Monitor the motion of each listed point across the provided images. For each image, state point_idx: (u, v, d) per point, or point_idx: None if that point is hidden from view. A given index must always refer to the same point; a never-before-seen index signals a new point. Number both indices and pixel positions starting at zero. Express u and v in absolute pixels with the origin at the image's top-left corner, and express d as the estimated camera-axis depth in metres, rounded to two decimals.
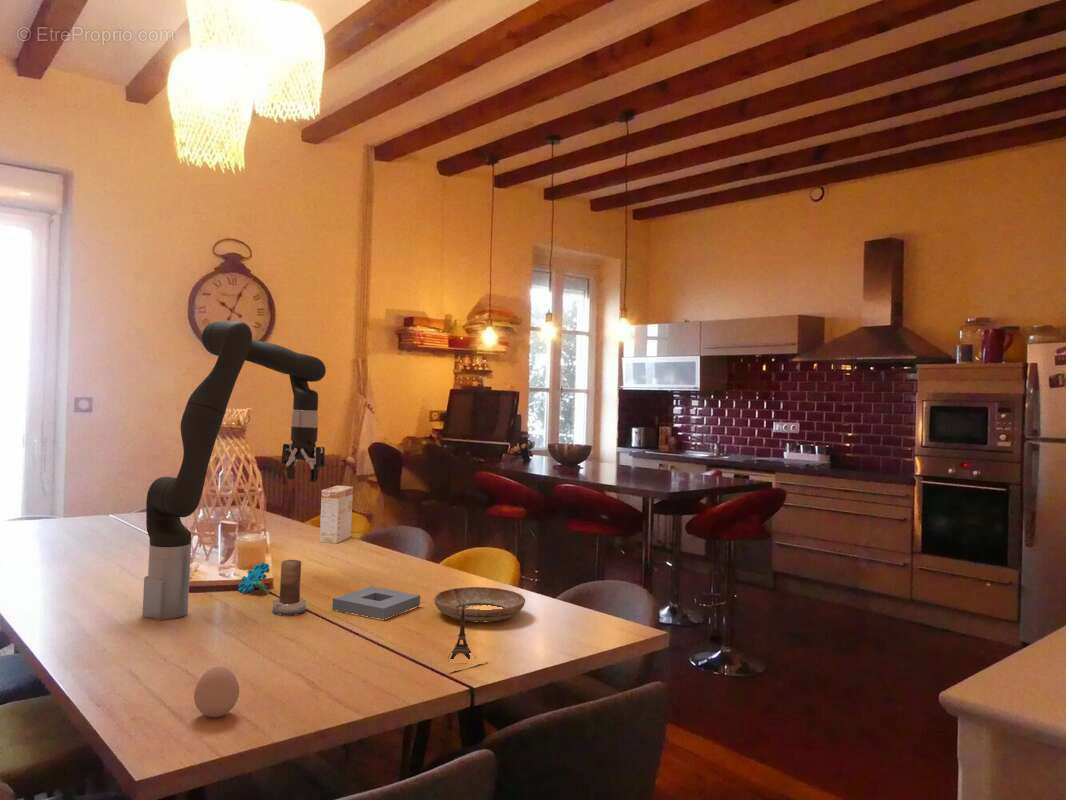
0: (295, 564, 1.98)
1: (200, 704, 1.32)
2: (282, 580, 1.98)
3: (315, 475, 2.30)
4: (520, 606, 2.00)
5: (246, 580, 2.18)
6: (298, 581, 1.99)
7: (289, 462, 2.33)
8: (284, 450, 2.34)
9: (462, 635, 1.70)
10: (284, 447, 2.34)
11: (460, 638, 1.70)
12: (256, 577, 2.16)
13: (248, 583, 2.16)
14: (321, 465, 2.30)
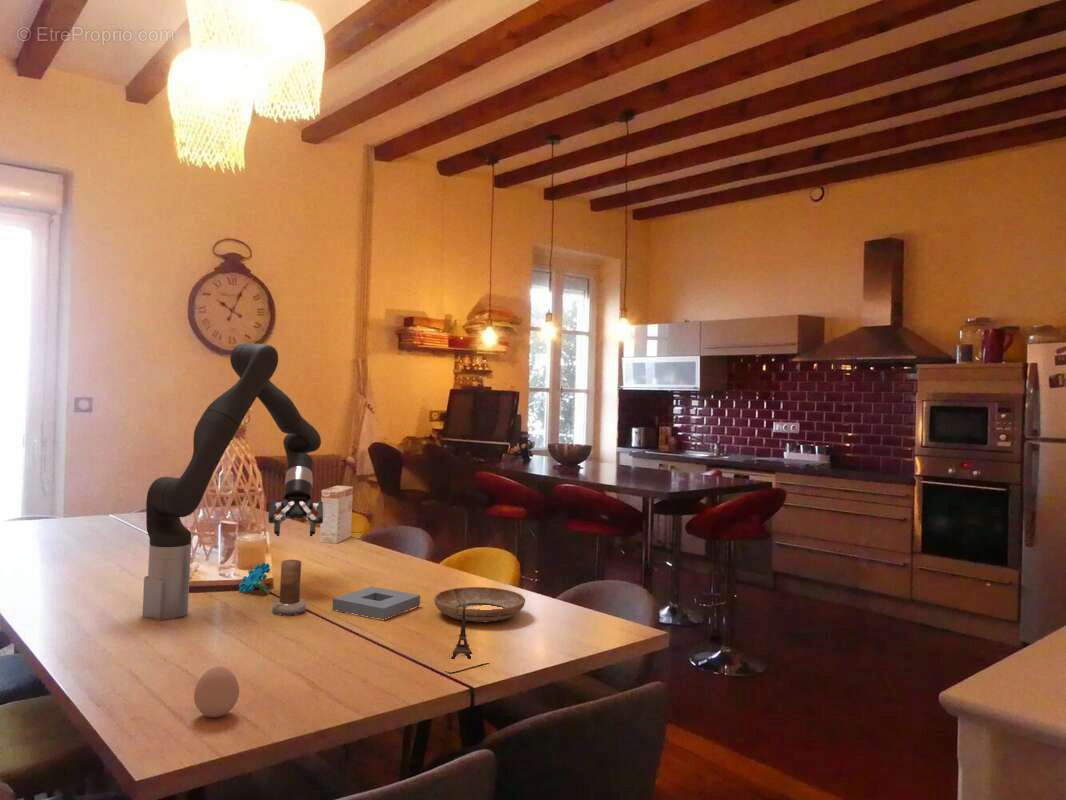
0: (295, 564, 1.98)
1: (200, 704, 1.32)
2: (282, 580, 1.98)
3: (315, 527, 2.14)
4: (520, 606, 2.00)
5: (247, 580, 2.18)
6: (298, 581, 1.99)
7: (280, 516, 2.13)
8: (273, 506, 2.15)
9: (463, 635, 1.70)
10: (273, 503, 2.16)
11: (461, 638, 1.69)
12: (256, 577, 2.16)
13: (248, 583, 2.16)
14: (322, 519, 2.17)
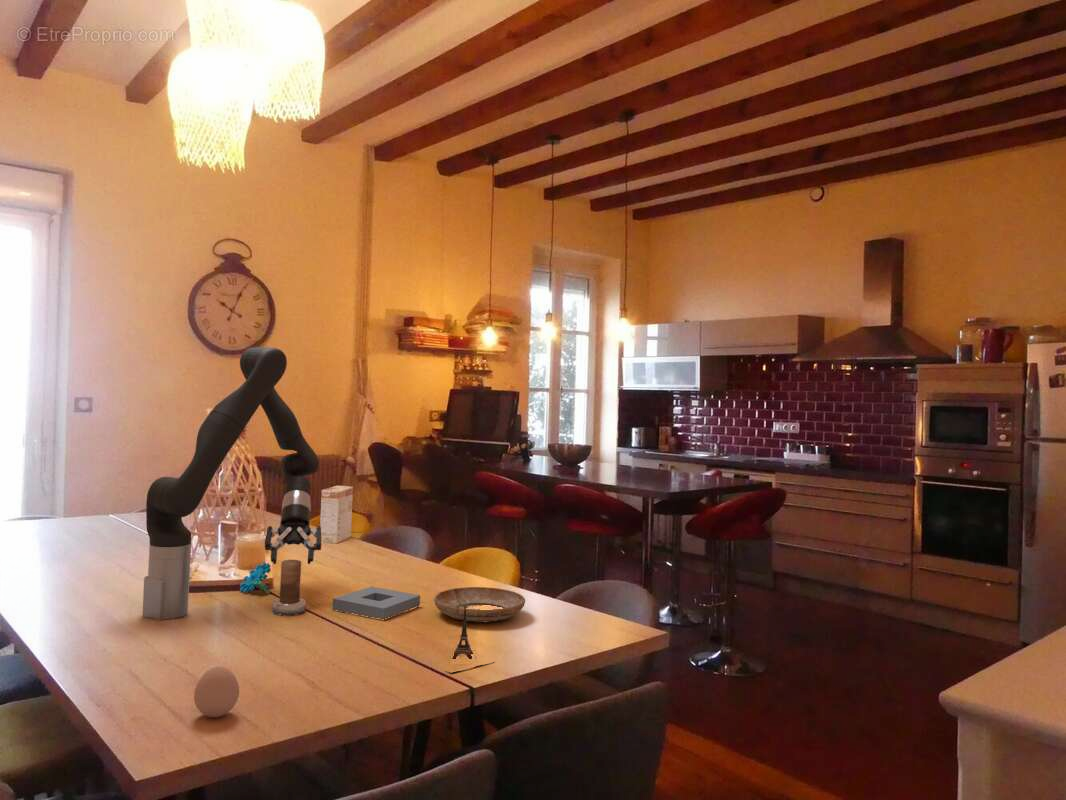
0: (295, 564, 1.98)
1: (200, 704, 1.32)
2: (282, 580, 1.98)
3: None
4: (520, 606, 2.00)
5: (247, 580, 2.18)
6: (298, 581, 1.99)
7: (277, 543, 2.06)
8: (269, 532, 2.08)
9: (464, 636, 1.69)
10: (269, 529, 2.08)
11: (462, 639, 1.69)
12: (257, 577, 2.16)
13: (249, 583, 2.16)
14: (320, 545, 2.09)
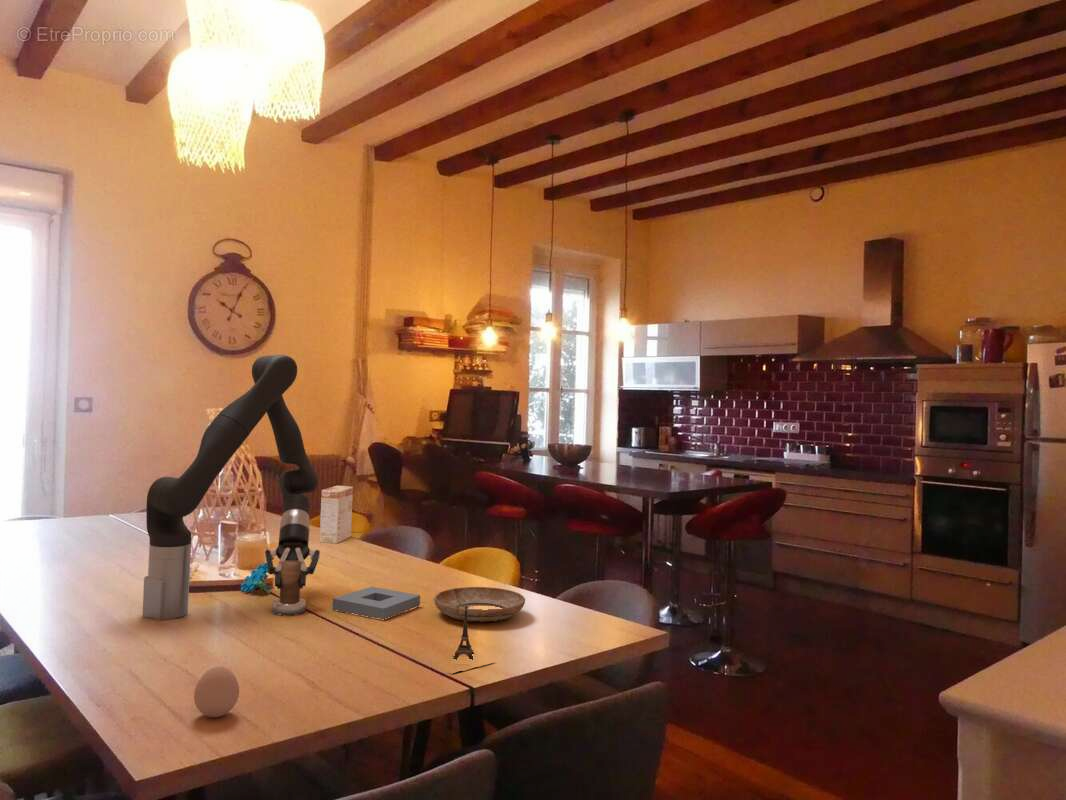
0: (295, 564, 1.98)
1: (200, 704, 1.32)
2: (282, 580, 1.98)
3: (305, 579, 2.00)
4: (520, 606, 2.00)
5: (249, 580, 2.18)
6: (298, 581, 1.99)
7: (280, 566, 2.00)
8: (269, 556, 2.02)
9: (465, 636, 1.69)
10: (268, 553, 2.02)
11: (463, 639, 1.69)
12: (258, 577, 2.17)
13: (250, 583, 2.16)
14: (313, 570, 2.03)
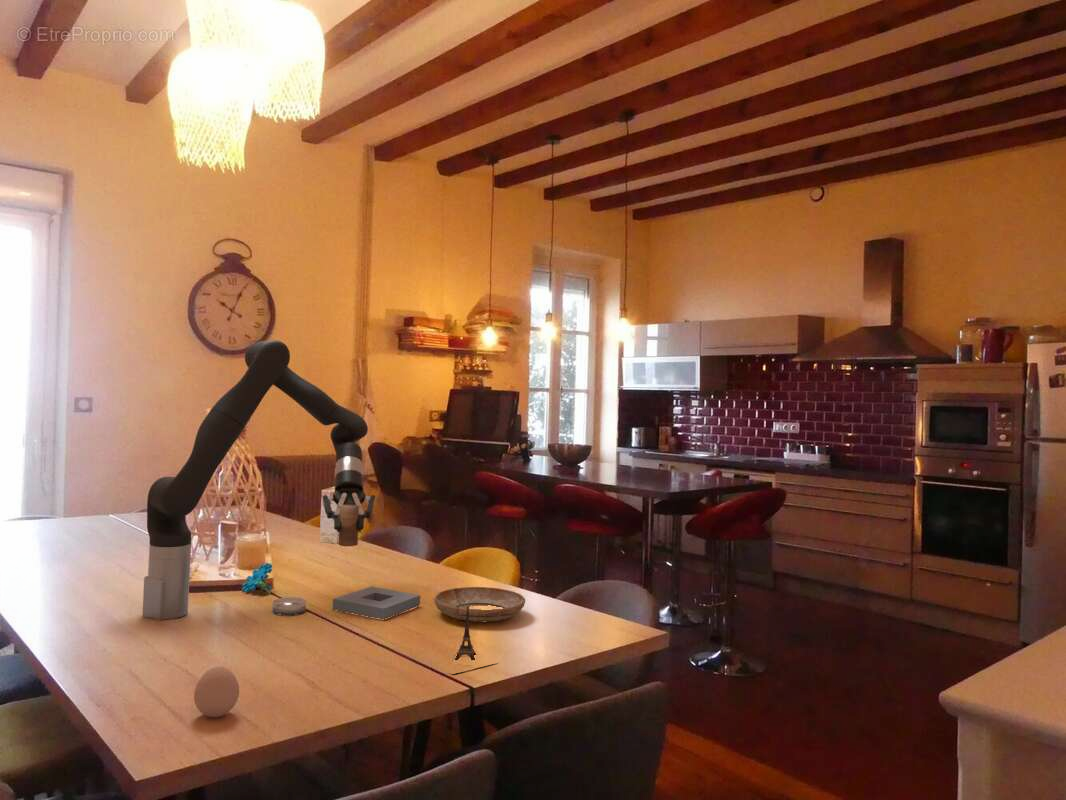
0: (353, 507, 2.03)
1: (200, 704, 1.32)
2: (341, 523, 2.03)
3: (363, 522, 2.05)
4: (520, 606, 2.00)
5: (250, 580, 2.19)
6: (356, 524, 2.04)
7: (338, 510, 2.05)
8: (327, 500, 2.06)
9: (466, 636, 1.69)
10: (325, 498, 2.07)
11: (464, 639, 1.69)
12: (259, 577, 2.17)
13: (251, 583, 2.17)
14: (370, 514, 2.08)
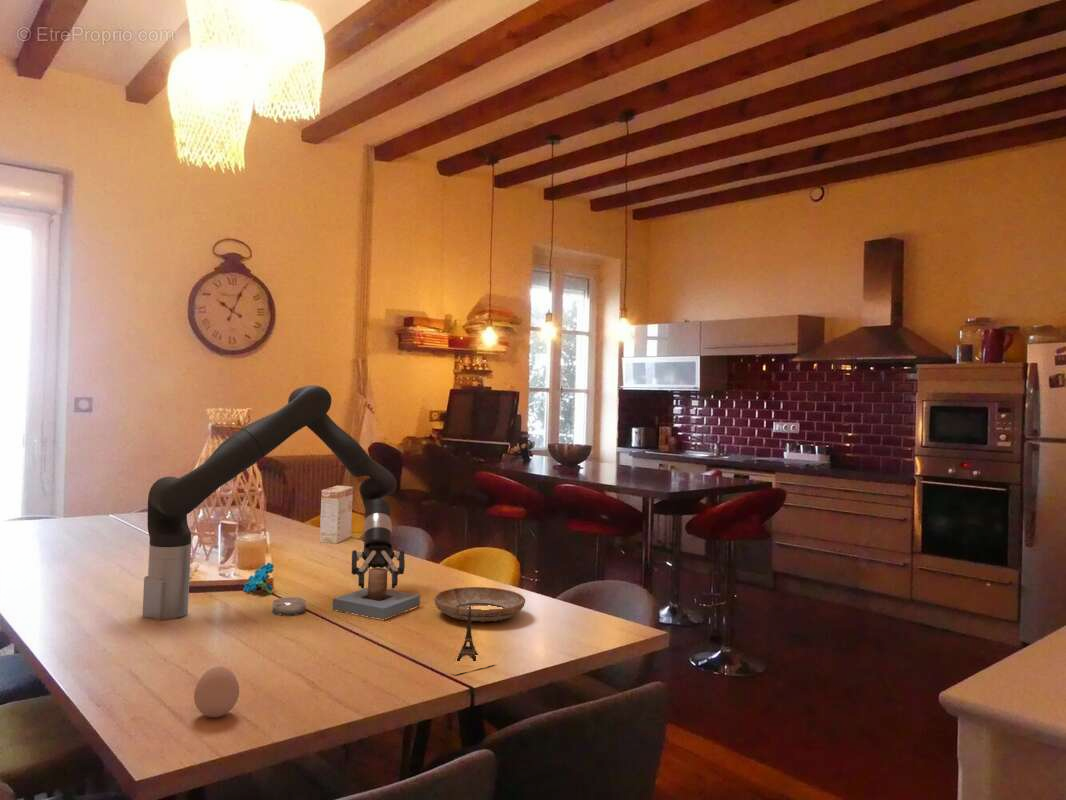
0: (382, 572, 2.05)
1: (200, 704, 1.32)
2: (370, 588, 2.05)
3: None
4: (520, 606, 2.00)
5: (251, 580, 2.19)
6: (385, 589, 2.06)
7: (363, 567, 2.07)
8: (355, 556, 2.09)
9: (468, 637, 1.69)
10: (354, 553, 2.09)
11: (466, 640, 1.68)
12: (260, 577, 2.17)
13: (252, 583, 2.17)
14: (403, 570, 2.10)
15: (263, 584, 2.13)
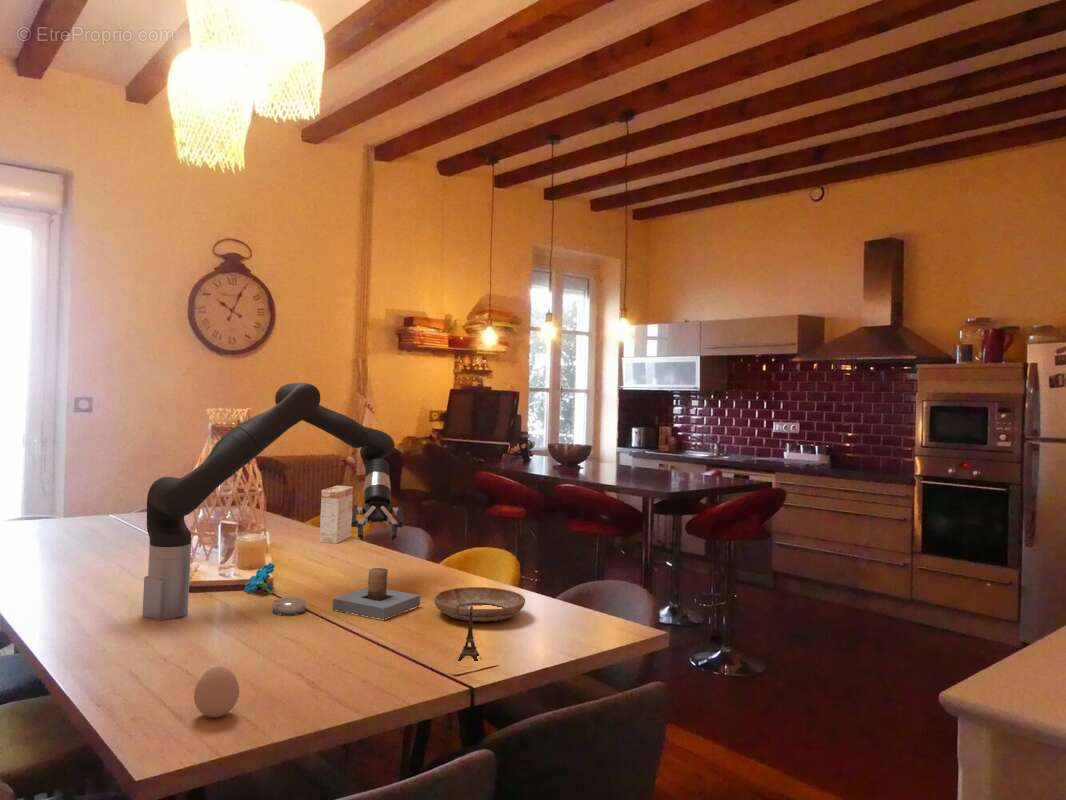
0: (382, 572, 2.05)
1: (200, 704, 1.32)
2: (370, 588, 2.05)
3: (396, 531, 2.20)
4: (520, 606, 2.00)
5: (253, 579, 2.19)
6: (385, 589, 2.06)
7: (363, 520, 2.20)
8: (355, 510, 2.21)
9: (470, 637, 1.68)
10: (355, 507, 2.22)
11: (468, 640, 1.68)
12: (260, 577, 2.17)
13: (253, 583, 2.17)
14: (402, 523, 2.23)
15: (263, 584, 2.13)
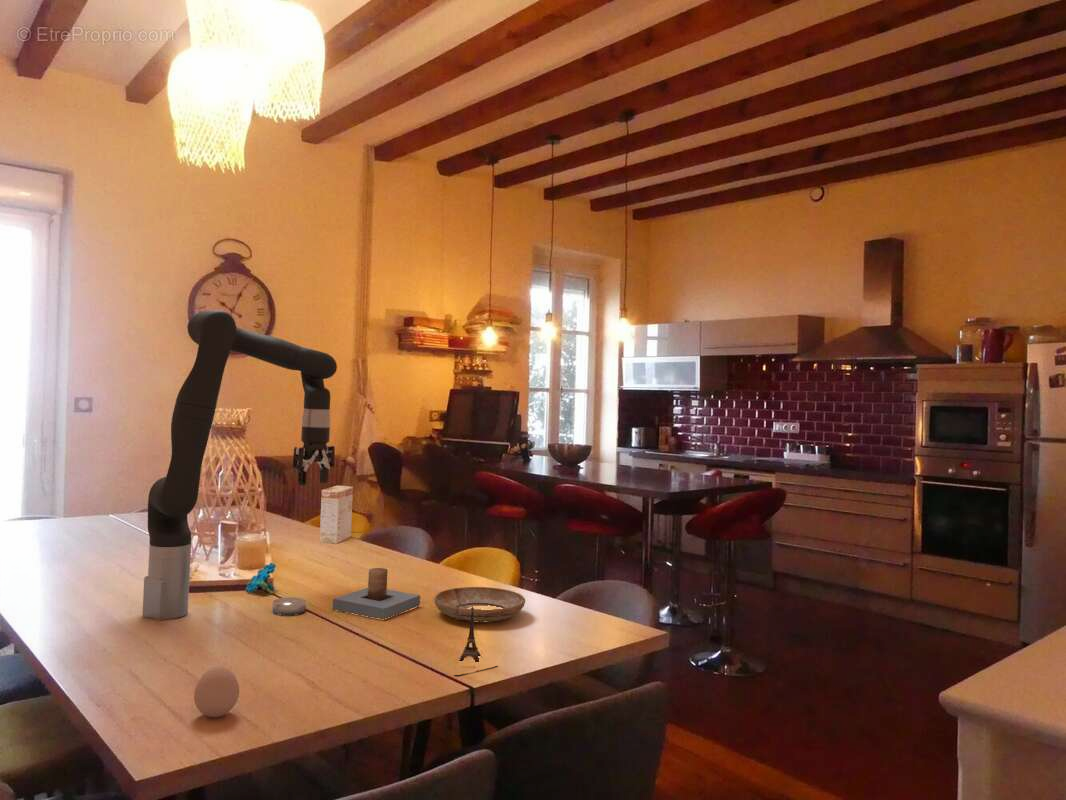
0: (382, 572, 2.05)
1: (200, 704, 1.32)
2: (370, 588, 2.05)
3: None
4: (520, 606, 2.00)
5: (254, 579, 2.19)
6: (385, 589, 2.06)
7: (307, 466, 2.15)
8: (302, 454, 2.13)
9: (471, 638, 1.68)
10: (302, 451, 2.13)
11: (469, 641, 1.68)
12: (261, 577, 2.17)
13: (254, 582, 2.17)
14: None
15: (264, 584, 2.13)
